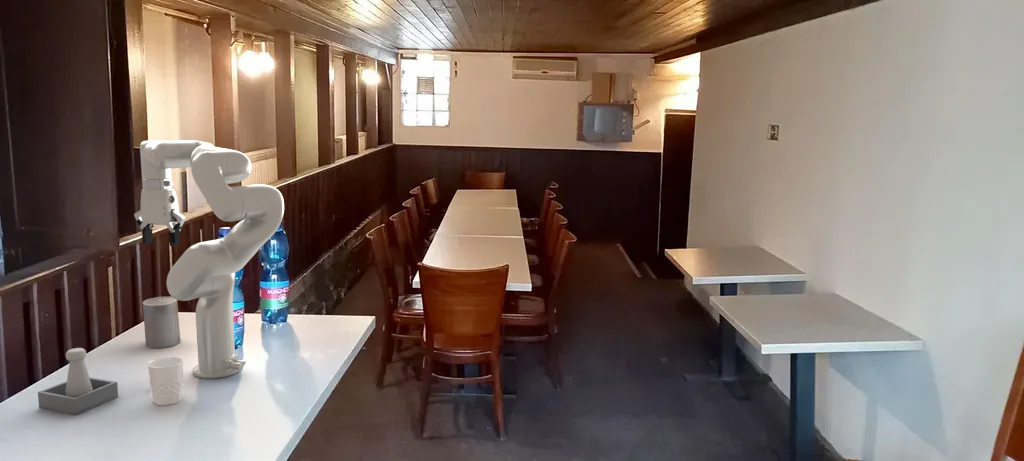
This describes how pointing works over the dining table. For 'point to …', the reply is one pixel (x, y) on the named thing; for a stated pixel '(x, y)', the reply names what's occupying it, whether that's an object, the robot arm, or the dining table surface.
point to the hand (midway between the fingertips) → (161, 244)
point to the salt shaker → (77, 373)
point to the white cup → (166, 380)
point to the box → (60, 402)
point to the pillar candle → (161, 322)
